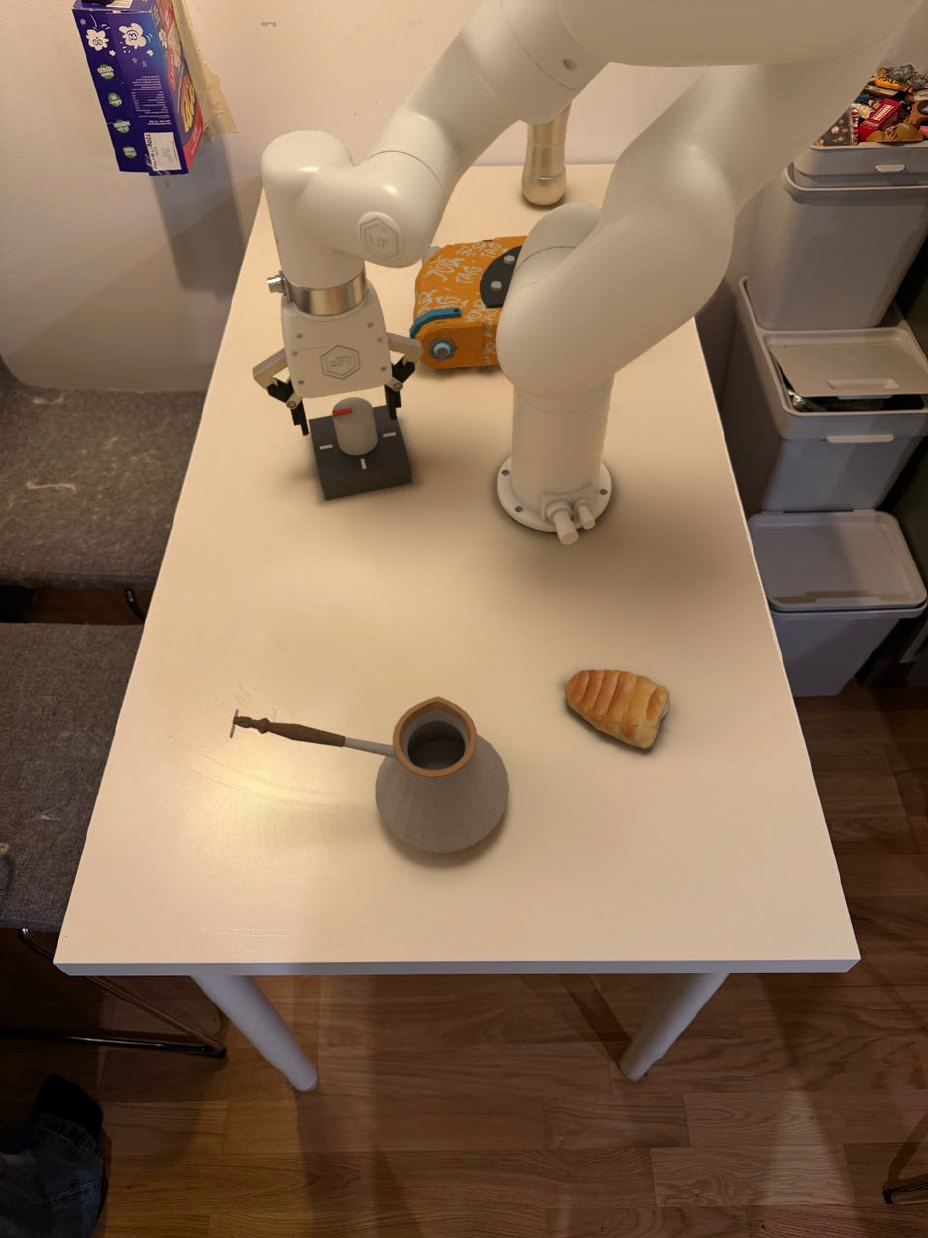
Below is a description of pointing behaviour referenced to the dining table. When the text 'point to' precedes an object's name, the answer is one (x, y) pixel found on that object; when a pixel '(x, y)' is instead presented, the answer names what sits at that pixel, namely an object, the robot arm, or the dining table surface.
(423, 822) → the coffee pot
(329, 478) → the timer panel
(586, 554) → the dining table surface
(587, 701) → the pastry
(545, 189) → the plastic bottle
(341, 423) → the timer knob
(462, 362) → the device
